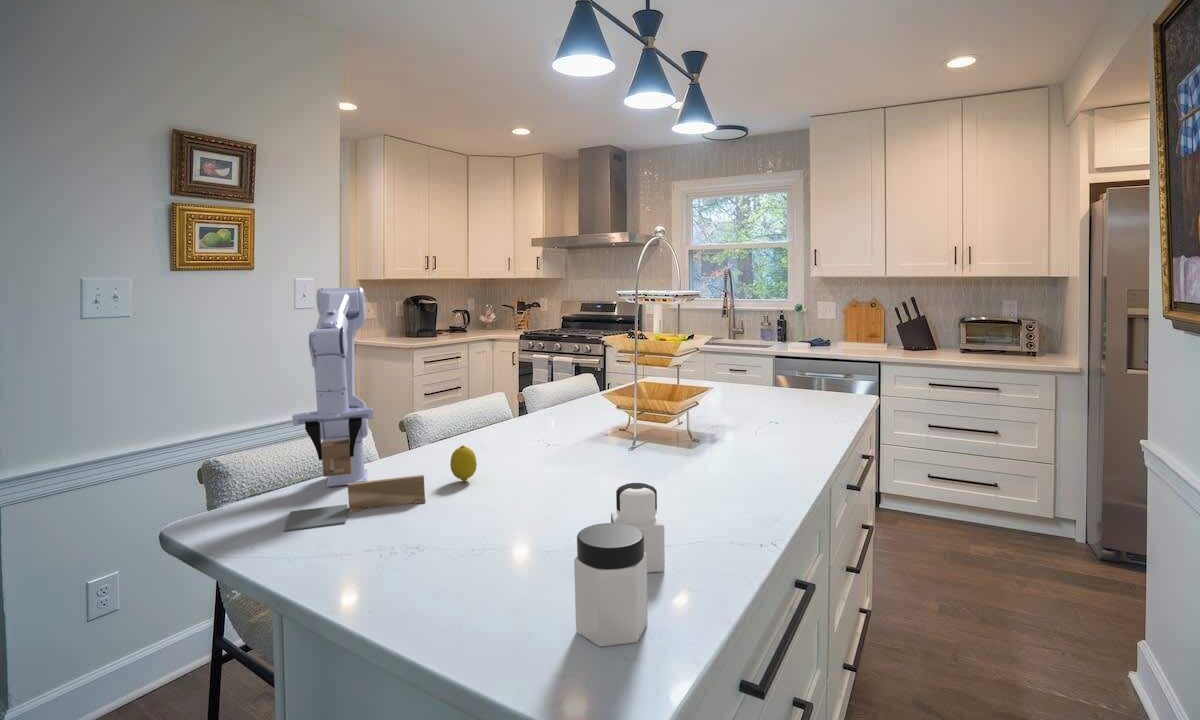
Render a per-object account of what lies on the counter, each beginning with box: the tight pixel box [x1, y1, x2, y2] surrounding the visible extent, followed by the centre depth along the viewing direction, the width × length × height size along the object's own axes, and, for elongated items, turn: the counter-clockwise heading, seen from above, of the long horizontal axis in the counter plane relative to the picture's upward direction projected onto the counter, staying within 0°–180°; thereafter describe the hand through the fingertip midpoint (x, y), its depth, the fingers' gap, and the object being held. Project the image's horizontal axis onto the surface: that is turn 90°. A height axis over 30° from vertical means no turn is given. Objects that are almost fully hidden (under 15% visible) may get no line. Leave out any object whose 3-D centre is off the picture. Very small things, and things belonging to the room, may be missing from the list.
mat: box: [283, 503, 348, 532], centre depth 120 cm, size 10×10×1 cm
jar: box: [573, 522, 649, 648], centre depth 79 cm, size 9×8×12 cm
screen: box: [347, 474, 426, 513], centre depth 126 cm, size 3×14×5 cm, turn 109°
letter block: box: [321, 438, 351, 478], centre depth 128 cm, size 5×5×6 cm
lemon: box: [449, 445, 478, 483], centre depth 140 cm, size 6×6×8 cm
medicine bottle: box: [610, 482, 666, 574], centre depth 97 cm, size 7×7×12 cm
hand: (336, 457), depth 129 cm, fingers closed on letter block, 5 cm apart
